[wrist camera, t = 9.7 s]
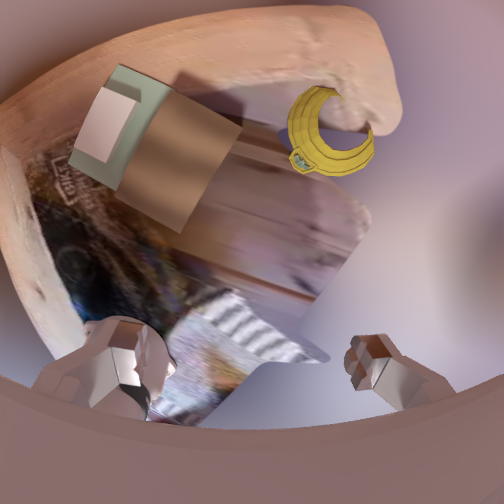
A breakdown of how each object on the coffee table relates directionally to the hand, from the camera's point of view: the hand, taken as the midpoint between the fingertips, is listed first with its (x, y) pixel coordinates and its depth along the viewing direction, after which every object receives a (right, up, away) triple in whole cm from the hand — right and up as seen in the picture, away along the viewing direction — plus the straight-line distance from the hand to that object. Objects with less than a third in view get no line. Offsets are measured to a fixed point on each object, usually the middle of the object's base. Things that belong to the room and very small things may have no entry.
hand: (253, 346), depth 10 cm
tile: (-19, +20, +19) cm, 34 cm away
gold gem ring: (+10, +20, +25) cm, 33 cm away
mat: (-18, +21, +21) cm, 35 cm away
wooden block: (-10, +16, +24) cm, 30 cm away
